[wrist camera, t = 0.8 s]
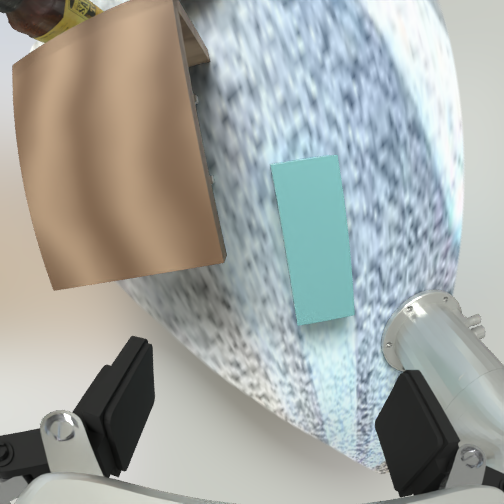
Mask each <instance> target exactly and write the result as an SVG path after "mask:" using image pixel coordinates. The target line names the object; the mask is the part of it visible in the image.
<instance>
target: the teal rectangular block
mask: <svg viewBox="0 0 504 504" xmlns="http://www.w3.org/2000/svg"><path fill="white" fill-rule="evenodd" d="M270 167H271V172H272V178H273V183H274V189H275V194H276V200H277V205H278V211H279V216H280V222H281V228H282V234H283V240H284V245H285V251H286V258H287V264H288V270H289V276H290V282H291V289H292V295H293V302H294V307H295V313H296V318H297V324H298V326H299V325H305V324H310V323H316V322H321V321H327V320H332V319H337V318H342V317H348V316H352V315H354V296H353V281H352V268H351V257H350V246H349V236H348V227H347V219H346V210H345V203H344V195H343V188H342V181H341V175H340V168H339V162H338V156H337V155H326V156H319V157H312V158H305V159H299V160H292V161H286V162H280V163H274V164H270Z"/></svg>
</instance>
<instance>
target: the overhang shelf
mask: <svg viewBox="0 0 504 504" xmlns="http://www.w3.org/2000/svg"><path fill="white" fill-rule="evenodd" d="M206 62H210V59H209V54H208V50H207V48H206V46H205V44H204V43H203V41H202V39H201V37H200V36H199V34H198V32H197V30H196V29H195V27H194V25H193V24H192V22H191V20H190V18H189V17H188V15H187V13H186V12H185V10H184V8H183V7H182V5H181V3H180V2H179V0H130V1H127V2H125V3H123V4H120V5H118V6H115V7H113V8H111V9H109V10H106V11H104V12H102V13H100V14H98V15H96V16H94V17H91V18H89V19H87V20H85V21H83V22H82V23H80V24H78V25H76V26H74V27H72V28H70V29H68V30H67V31H65V32H63V33H61V34H60V35H58V36H56V37H54V38H53V39H51V40H49V41H48V42H46V43H45V44H43V45H41V46H40V47H38V48H37V49H35V50H34V51H32V52H31V53H29V54H28V55H26V56H25V57H24V58H22V59H21V60H19V61H18V62H16V63H15V64H14V65H13V66H12V70H13V71H12V72H13V74H12V75H13V105H14V118H15V130H16V139H17V147H18V154H19V160H20V167H21V172H22V178H23V183H24V189H25V193H26V198H27V202H28V207H29V211H30V215H31V219H32V223H33V227H34V231H35V234H36V238H37V241H38V245H39V248H40V251H41V255H42V258H43V261H44V264H45V267H46V270H47V273H48V276H49V278H50V282H51V284H52V287H53V290H61V289H68V288H74V287H80V286H86V285H92V284H99V283H105V282H111V281H117V280H123V279H129V278H135V277H142V276H148V275H154V274H160V273H166V272H172V271H178V270H184V269H190V268H196V267H202V266H208V265H214V264H220V263H224V261H225V259H226V256H227V254H226V250H225V245H224V241H223V236H222V232H221V227H220V222H219V218H218V213H217V209H216V204H215V199H214V195H213V190H212V185H211V184H213V183H215V181H214V176H213V175H212V176H209V171H208V166H207V161H206V156H205V151H204V146H203V141H202V136H201V131H200V126H199V121H198V116H197V111H196V106H195V104H198V103H199V102H198V96H196V95H195V94H194V95H193V90H192V85H191V79H190V74H189V69H188V67H191V66H194V65H198V64H202V63H206Z"/></svg>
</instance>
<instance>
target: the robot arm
mask: <svg viewBox="0 0 504 504" xmlns="http://www.w3.org/2000/svg"><path fill="white" fill-rule="evenodd" d="M480 322H481V316H480V315H479V314H476V315H474V316H471V317H469V318H467V317H464V315H463V314H462V311H461V307H460V305H459V303H458V301H457V300H456V299H455V298H454V297H453V296H452V295H451V294H449V293H447V292H445V291H442V290H437V289H436V290H427V291H423V292H420V293H418V294H416V295H414V296H412V297H411V298H409V299H407V300H406V301H405V302H404V303H403V304H401V305H400V306H399V307H398V308H397V310H396V311H395V312H394V313H393V314H392V316H391V317H390V319H389V320H388V322H387V324H386V326H385V329H384V332H383V335H382V343H381V345H382V352H383V354H384V357H385V359H386V360H387V362H388V363H389V364H390V365H391V366H392V367H393V368H395V369H397V370H399V371H403V373H402V374H400V375H399V377H398V379H397V381H396V383H395V385H394V387H393V389H392V391H391V393H390V395H389V397H388V399H387V400H386V402H385V404H384V406H383V408H382V410H381V411H380V413H379V415H378V417H377V419H376V421H375V429H376V432H377V435H378V438H379V441H380V444H381V447H382V450H383V453H384V456H385V459H386V463H387V466H388V469H389V472H390V475H391V479H392V482H393V485H394V488H395V490H396V491H398V492H399V496H400V497H404V498H398V499H393V500H387V501H380V502H373V503H364V504H504V365H503V364H502V363H501V362H500V361H499V360H498V359H497V357H496V356H495V355H494V354H493V353H492V352H491V351H490V350H489V349H488V348H487V347H486V346H485V345H484V343H482V342H481V340H480V339H482V338H484V337H485V328H484V327H483V326H482V325H481V326H478V327H475V328H472V329H471V330H470V329H469V327H470V326H474V325H477V324H479V323H480ZM154 399H155V392H154V374H153V348H152V344H148V341H147V339H144V338H139V337H135V336H131V337H130V339H129V340H128V342H127V343H126V345H125V346H124V348H123V349H122V351H121V352H120V353H119V355H118V356H117V358H116V359H115V361H114V362H113V364H112V366H110V365H105V366H104V367H103V368H102V369H101V371H100V372H99V373H98V375H97V376H96V378H95V379H94V381H93V382H92V384H91V385H90V387H89V388H88V390H87V391H86V393H85V394H84V396H83V397H82V399H81V400H80V402H79V403H78V405H77V406H76V408H75V409H74V411H73V412H70V411H65V410H57V411H53V412H50V413H49V414H47V415H46V416H45V417H44V418H43V419H42V421H41V424H40V428H39V429H34V430H30V431H25V432H19V433H13V434H8V435H3V436H0V504H11V503H10V501H12V500H13V499H15V498H18V499H17V500H16V502H15V503H14V504H234V503H225V502H218V501H211V500H205V499H199V498H193V497H188V496H182V495H177V494H173V493H168V492H163V491H159V490H155V489H151V488H146V487H143V486H139V485H135V484H131V483H127V482H123V481H120V480H116V479H111V478H109V477H110V474H111V475H114V476H117V477H119V475H120V473H121V470H122V471H126V470H127V468H128V466H129V463H130V461H131V458H132V456H133V453H134V451H135V448H136V446H137V443H138V441H139V438H140V436H141V433H142V431H143V428H144V426H145V424H146V421H147V419H148V416H149V414H150V411H151V409H152V406H153V404H154ZM412 494H414V496H410V497H405V496H409V495H412Z"/></svg>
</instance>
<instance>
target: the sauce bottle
mask: <svg viewBox="0 0 504 504" xmlns="http://www.w3.org/2000/svg"><path fill="white" fill-rule="evenodd" d="M0 12H2V13H6V15H7V17H8V20H9V23H10V25H11V27H12V28H13V29H15V30H17V31H18V32H21V33H24V34H27V35H29V37H31V38H34V39H36V40H39V41H41V42H44V43H46V42H48V41H49V40H51V39H53V38H54V37H56V36H58V35H60V34H61V33H63V32H65V31H67V30H68V29H70V28H72V27H74V26H76V25H78V24H80V23H82V22H83V21H85V20H87V19H89V18H91V17H94V16H96V15H98V14H100V13H102V12H104V11H102V10H101V9H100V8H99V7H97V6H96V5H95V4H93V3H92V2H91V1H89V0H0Z"/></svg>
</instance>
